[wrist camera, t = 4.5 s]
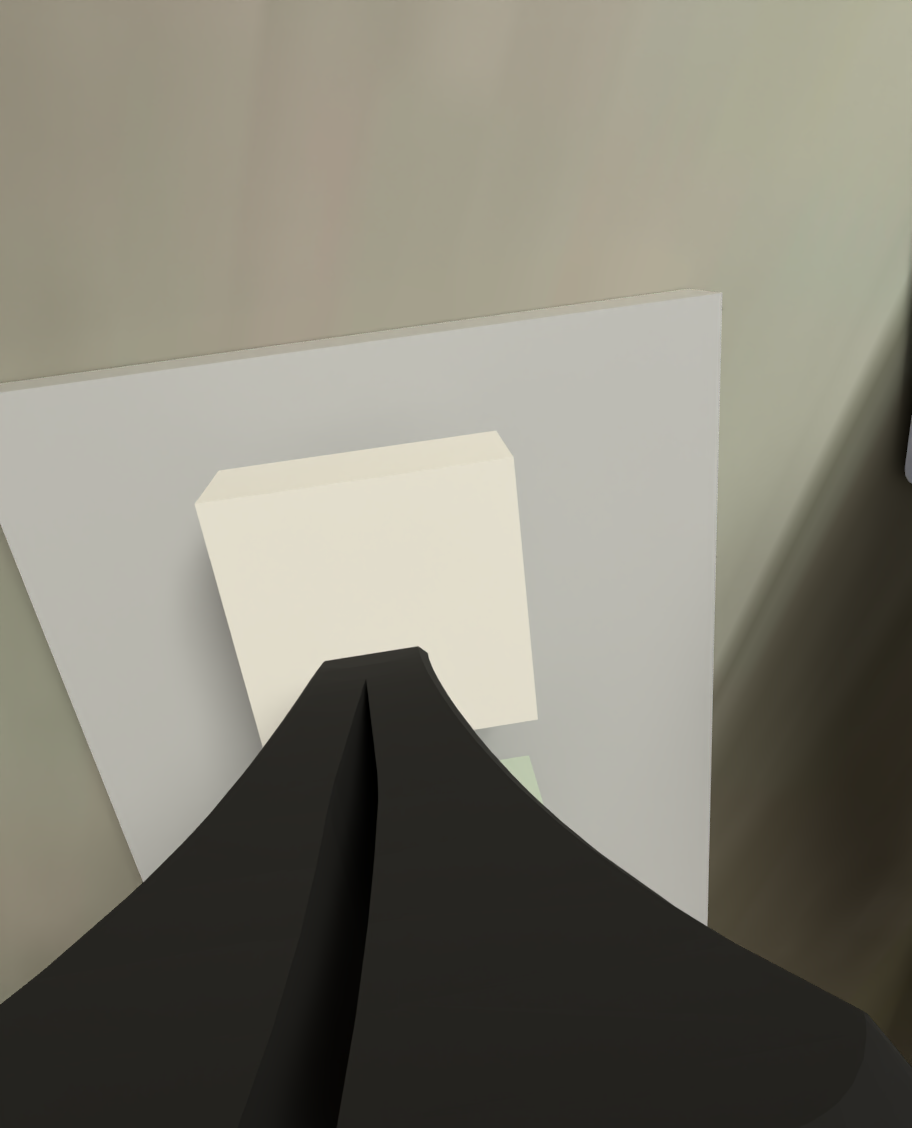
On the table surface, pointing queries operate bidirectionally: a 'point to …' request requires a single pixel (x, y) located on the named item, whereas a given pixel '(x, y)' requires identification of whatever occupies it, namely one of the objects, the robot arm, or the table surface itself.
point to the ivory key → (376, 570)
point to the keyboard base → (377, 419)
